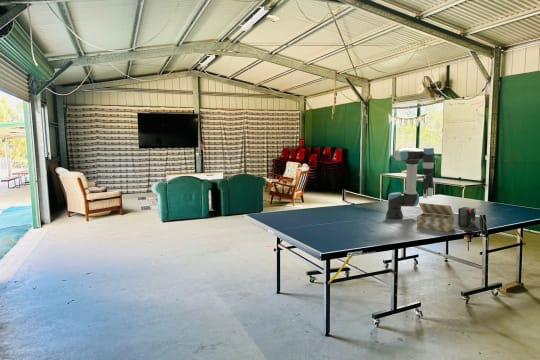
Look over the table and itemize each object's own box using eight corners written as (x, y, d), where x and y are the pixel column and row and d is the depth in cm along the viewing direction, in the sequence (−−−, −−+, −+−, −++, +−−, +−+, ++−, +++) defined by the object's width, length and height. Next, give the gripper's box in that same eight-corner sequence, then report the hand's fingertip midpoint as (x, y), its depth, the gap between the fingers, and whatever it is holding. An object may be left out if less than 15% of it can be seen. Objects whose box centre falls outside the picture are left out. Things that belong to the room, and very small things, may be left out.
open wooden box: (416, 227, 289) (416, 215, 288) (423, 224, 299) (423, 212, 298) (448, 231, 273) (448, 219, 272) (453, 228, 283) (454, 216, 282)
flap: (418, 203, 290) (419, 202, 290) (423, 212, 298) (423, 211, 299) (450, 206, 273) (450, 205, 274) (454, 216, 282) (454, 214, 282)
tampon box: (469, 227, 285) (469, 209, 283) (457, 225, 292) (458, 208, 291) (475, 225, 291) (476, 208, 290) (464, 223, 299) (464, 206, 297)
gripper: (428, 169, 258) (427, 199, 260) (438, 167, 274) (437, 195, 276) (417, 168, 263) (417, 198, 265) (428, 167, 279) (427, 195, 281)
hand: (427, 197), depth 270 cm, fingers open, 9 cm apart
